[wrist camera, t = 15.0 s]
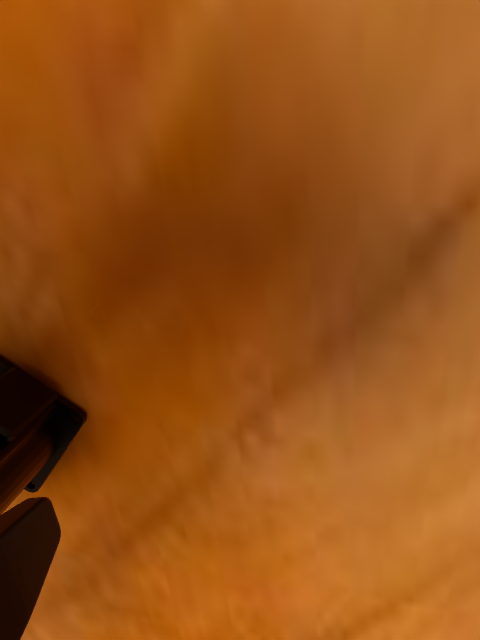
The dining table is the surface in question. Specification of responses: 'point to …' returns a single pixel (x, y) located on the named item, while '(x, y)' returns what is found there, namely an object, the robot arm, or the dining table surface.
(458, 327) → the dining table surface
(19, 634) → the robot arm
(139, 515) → the dining table surface
